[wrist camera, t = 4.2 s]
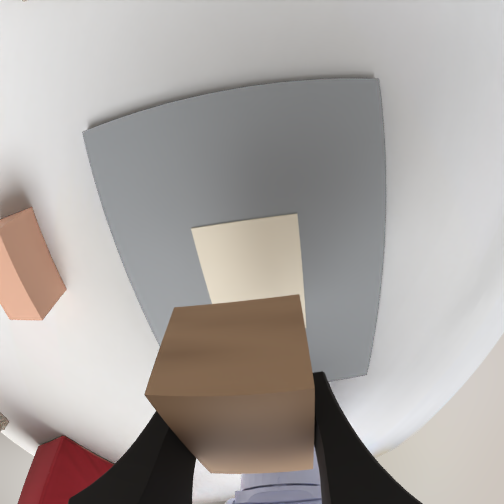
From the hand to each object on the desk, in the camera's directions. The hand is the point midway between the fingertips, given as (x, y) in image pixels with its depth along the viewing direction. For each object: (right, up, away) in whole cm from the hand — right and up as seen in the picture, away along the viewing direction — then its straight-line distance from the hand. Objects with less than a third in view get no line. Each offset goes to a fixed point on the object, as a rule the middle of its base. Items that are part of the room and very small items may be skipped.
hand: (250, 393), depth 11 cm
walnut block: (0, +1, +1) cm, 2 cm away
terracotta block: (-17, +6, +7) cm, 19 cm away
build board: (0, +4, +7) cm, 8 cm away
